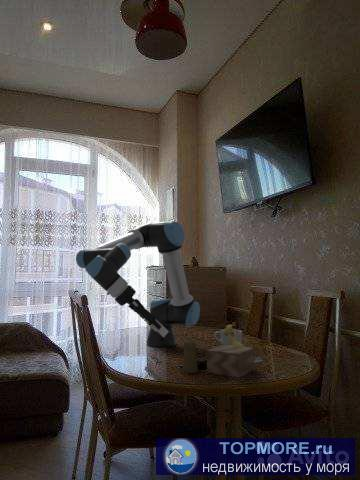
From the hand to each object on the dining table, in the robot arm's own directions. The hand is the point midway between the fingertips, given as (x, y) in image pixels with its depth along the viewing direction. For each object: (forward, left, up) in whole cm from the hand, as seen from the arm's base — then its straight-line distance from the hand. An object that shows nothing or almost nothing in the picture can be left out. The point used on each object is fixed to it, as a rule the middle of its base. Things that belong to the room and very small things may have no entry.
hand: (161, 331), depth 135 cm
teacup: (-2, +57, -15) cm, 59 cm away
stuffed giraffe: (+13, +37, -15) cm, 42 cm away
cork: (+7, +8, -15) cm, 18 cm away
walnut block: (+20, +16, -15) cm, 30 cm away
